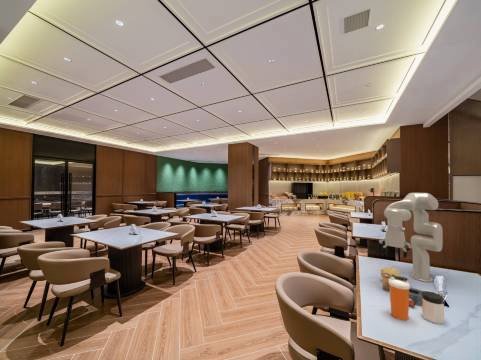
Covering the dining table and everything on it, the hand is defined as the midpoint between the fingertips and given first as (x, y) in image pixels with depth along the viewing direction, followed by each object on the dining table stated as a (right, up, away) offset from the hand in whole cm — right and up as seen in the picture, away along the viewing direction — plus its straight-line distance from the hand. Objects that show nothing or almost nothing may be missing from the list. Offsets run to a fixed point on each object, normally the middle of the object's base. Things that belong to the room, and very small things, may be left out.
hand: (395, 255), depth 132 cm
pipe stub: (-2, -24, +5) cm, 24 cm away
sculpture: (+8, -25, +14) cm, 30 cm away
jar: (0, -23, -26) cm, 35 cm away
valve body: (+3, -24, -10) cm, 26 cm away
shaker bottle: (-15, -23, -24) cm, 36 cm away
